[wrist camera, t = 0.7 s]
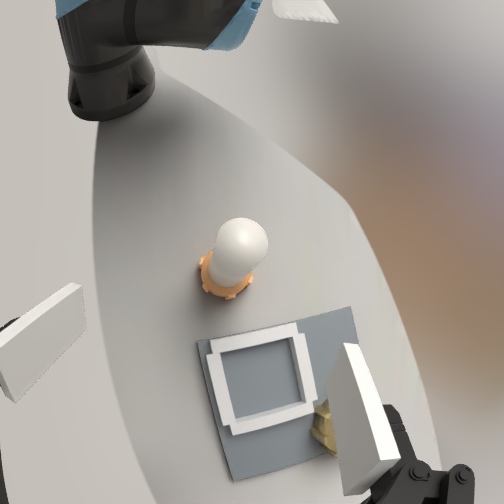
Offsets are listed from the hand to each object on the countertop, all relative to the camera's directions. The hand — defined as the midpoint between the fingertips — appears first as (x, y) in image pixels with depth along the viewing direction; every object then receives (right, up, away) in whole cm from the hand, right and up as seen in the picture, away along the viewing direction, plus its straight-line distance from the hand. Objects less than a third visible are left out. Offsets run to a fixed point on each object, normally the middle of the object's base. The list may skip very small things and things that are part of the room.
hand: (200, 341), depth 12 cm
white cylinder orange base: (-1, +2, +20) cm, 20 cm away
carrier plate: (+7, -13, +17) cm, 23 cm away
